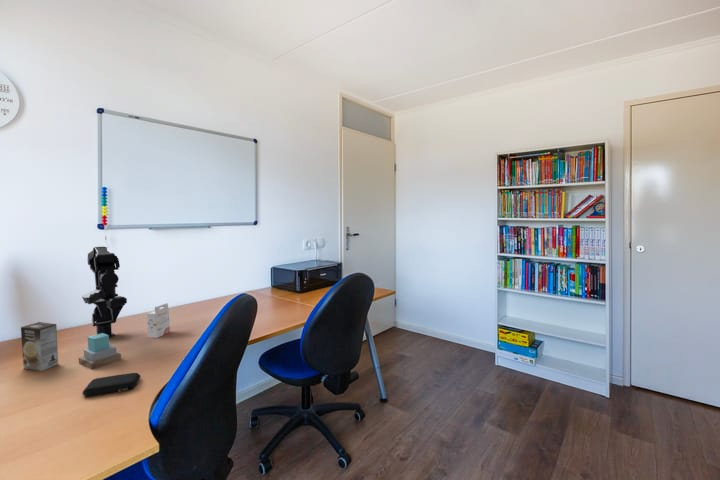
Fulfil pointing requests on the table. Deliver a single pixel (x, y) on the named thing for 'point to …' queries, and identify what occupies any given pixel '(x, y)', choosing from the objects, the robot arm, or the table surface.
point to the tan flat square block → (99, 361)
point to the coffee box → (39, 346)
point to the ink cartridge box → (158, 321)
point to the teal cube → (98, 342)
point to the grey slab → (100, 353)
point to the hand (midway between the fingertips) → (108, 318)
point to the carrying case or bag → (111, 384)
